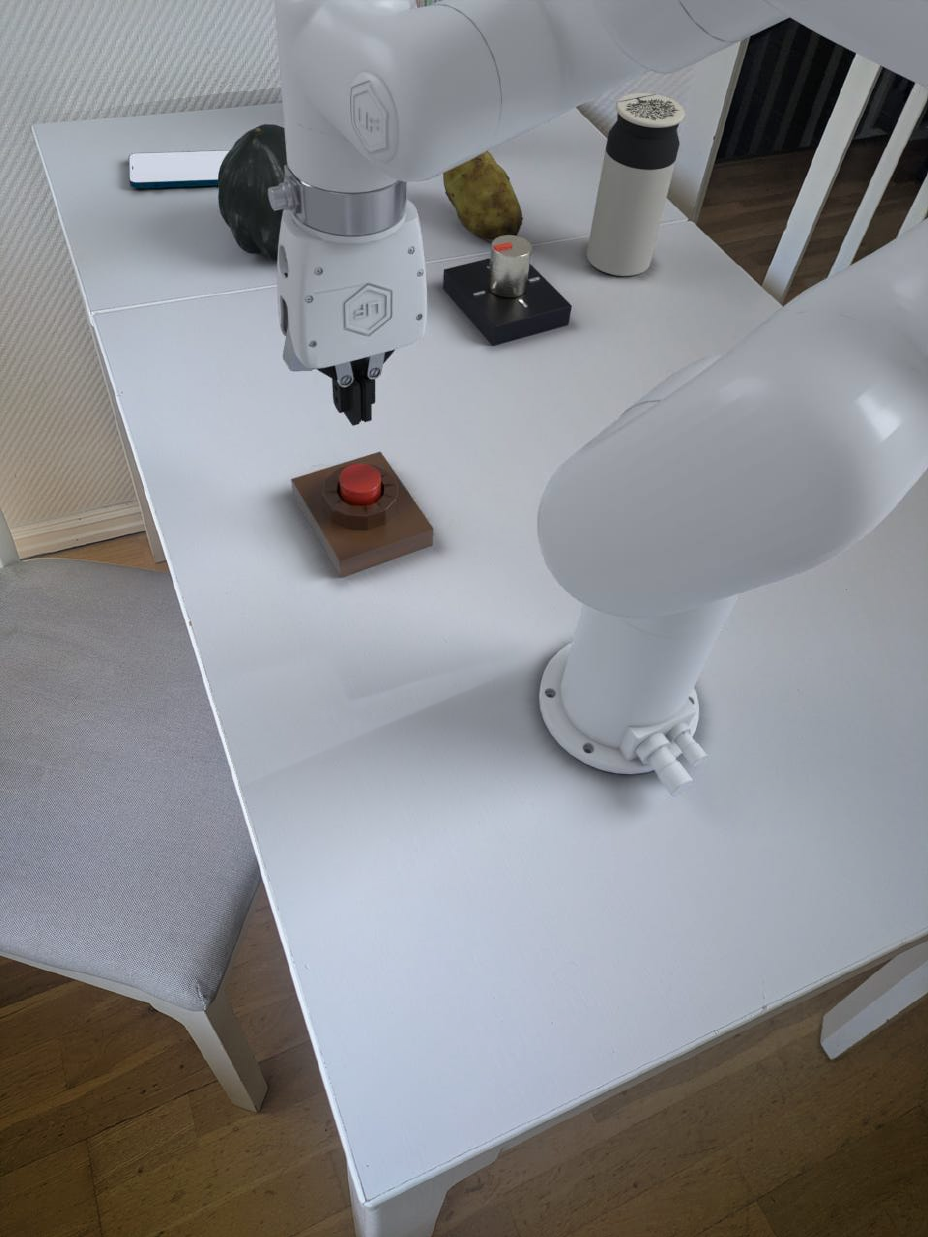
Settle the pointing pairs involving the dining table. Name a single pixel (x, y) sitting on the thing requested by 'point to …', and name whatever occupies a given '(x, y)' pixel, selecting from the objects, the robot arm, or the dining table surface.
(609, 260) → the travel mug
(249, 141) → the squash
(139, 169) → the smartphone
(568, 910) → the dining table surface
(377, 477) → the button
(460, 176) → the potato
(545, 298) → the hob panel
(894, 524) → the dining table surface
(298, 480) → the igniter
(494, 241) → the hob knob
